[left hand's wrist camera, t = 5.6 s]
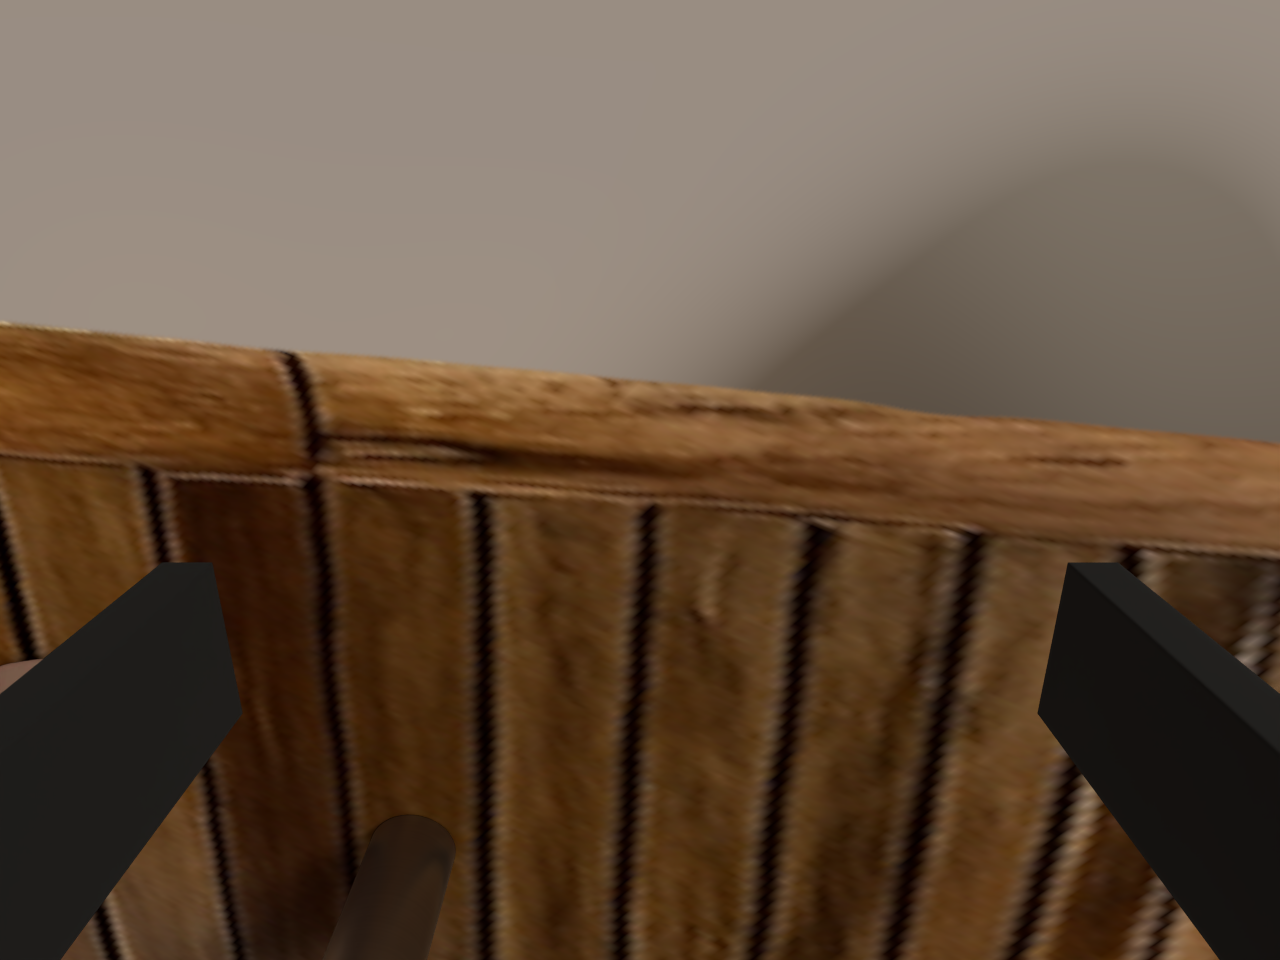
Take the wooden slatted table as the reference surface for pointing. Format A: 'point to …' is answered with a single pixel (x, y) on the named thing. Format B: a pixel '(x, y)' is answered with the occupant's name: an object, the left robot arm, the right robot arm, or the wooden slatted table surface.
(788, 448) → the wooden slatted table surface
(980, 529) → the wooden slatted table surface
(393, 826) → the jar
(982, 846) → the wooden slatted table surface
